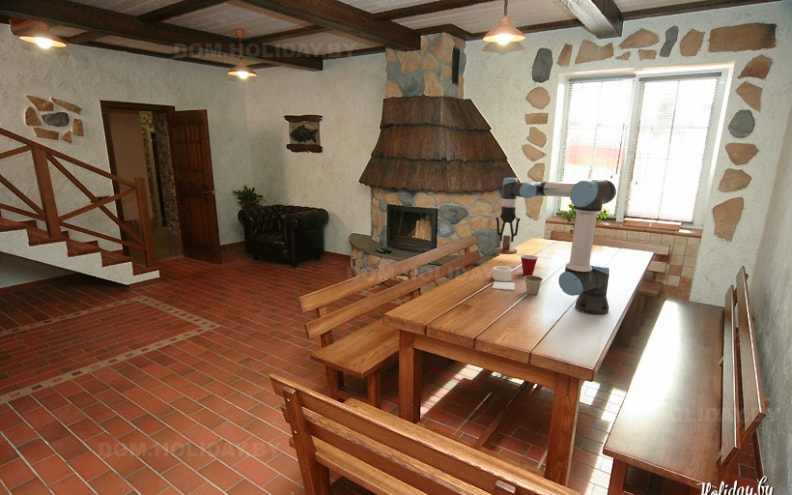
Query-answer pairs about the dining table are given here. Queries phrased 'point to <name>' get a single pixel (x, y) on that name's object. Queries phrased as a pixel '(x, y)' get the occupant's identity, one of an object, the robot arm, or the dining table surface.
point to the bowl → (502, 273)
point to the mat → (503, 285)
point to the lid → (506, 247)
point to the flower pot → (533, 284)
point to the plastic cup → (528, 264)
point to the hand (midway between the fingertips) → (506, 247)
